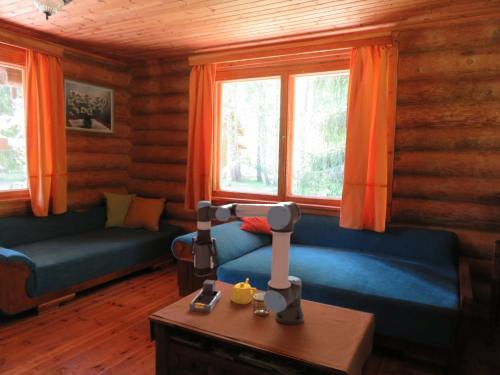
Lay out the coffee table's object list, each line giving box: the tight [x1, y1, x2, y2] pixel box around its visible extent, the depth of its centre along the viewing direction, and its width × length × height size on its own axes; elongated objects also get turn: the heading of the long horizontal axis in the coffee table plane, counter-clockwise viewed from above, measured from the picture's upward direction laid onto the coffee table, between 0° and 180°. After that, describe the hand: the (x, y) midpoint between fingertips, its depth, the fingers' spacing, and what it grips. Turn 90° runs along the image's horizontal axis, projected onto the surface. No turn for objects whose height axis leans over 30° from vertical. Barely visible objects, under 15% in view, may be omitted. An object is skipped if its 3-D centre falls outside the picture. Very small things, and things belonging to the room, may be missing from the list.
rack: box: [189, 279, 222, 314], centre depth 215 cm, size 12×23×11 cm, turn 169°
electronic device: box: [194, 239, 213, 278], centre depth 209 cm, size 9×6×20 cm, turn 130°
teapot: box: [230, 277, 257, 305], centre depth 221 cm, size 22×16×11 cm
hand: (203, 266), depth 209 cm, fingers closed on electronic device, 9 cm apart
